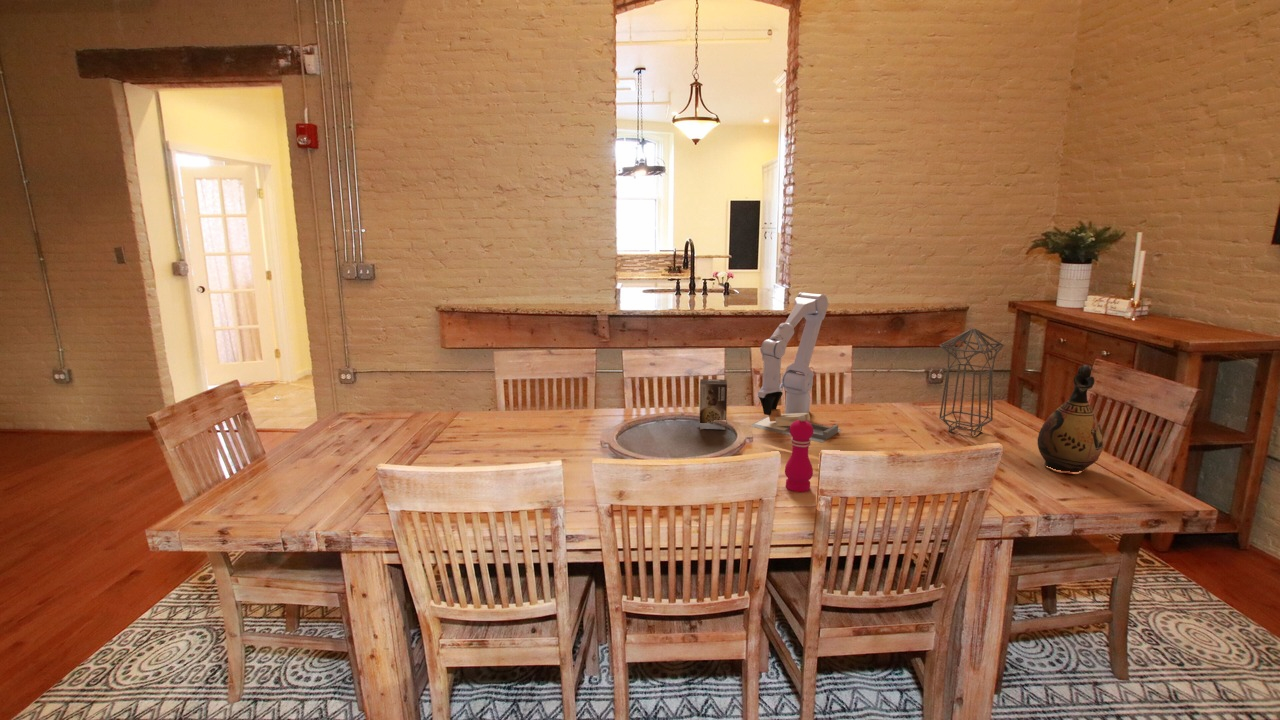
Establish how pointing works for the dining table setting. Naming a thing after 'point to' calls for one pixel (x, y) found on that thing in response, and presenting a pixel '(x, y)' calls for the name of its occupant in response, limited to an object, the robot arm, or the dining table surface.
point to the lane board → (819, 431)
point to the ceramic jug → (1072, 430)
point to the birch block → (786, 417)
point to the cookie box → (713, 400)
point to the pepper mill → (799, 456)
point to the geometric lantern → (963, 337)
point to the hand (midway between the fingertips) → (769, 413)
